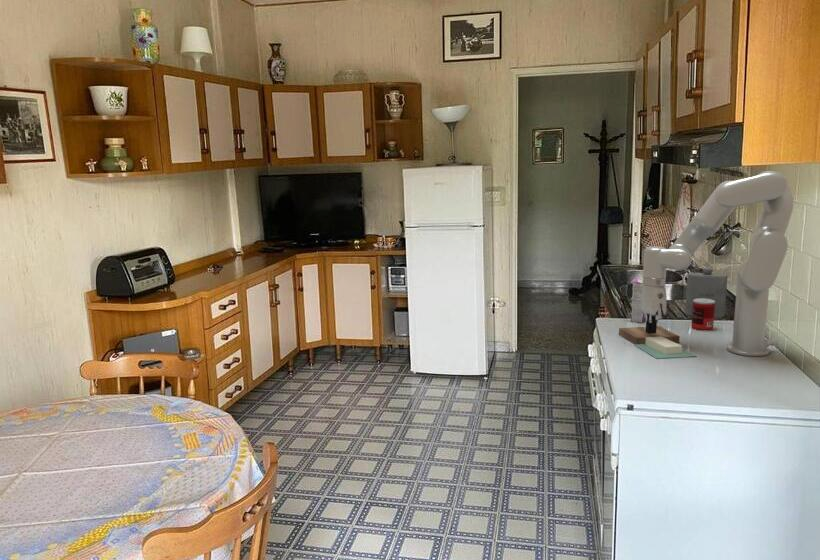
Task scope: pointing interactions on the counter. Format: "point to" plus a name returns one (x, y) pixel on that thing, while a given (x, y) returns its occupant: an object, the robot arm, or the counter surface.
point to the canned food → (703, 314)
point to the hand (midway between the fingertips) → (650, 332)
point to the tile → (663, 345)
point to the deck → (646, 334)
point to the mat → (661, 355)
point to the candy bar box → (637, 302)
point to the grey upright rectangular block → (706, 290)
